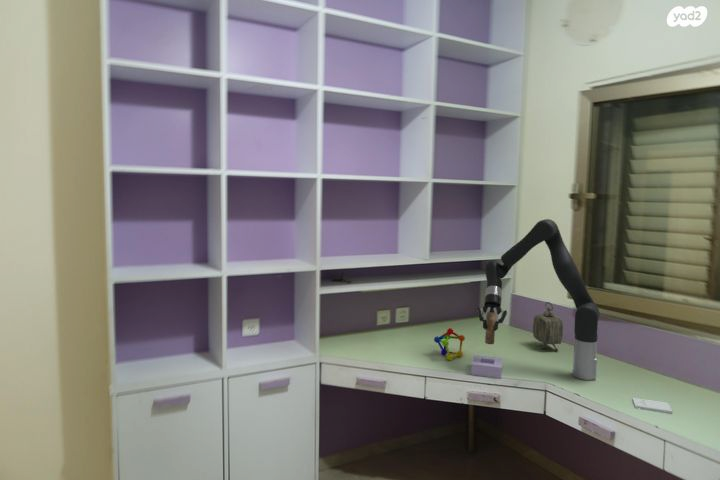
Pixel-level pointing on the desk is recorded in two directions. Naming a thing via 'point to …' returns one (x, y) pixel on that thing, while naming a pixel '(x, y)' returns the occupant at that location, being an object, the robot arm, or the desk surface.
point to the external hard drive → (652, 405)
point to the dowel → (490, 328)
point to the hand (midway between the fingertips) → (490, 329)
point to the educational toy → (445, 343)
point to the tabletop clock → (548, 328)
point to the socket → (487, 366)
